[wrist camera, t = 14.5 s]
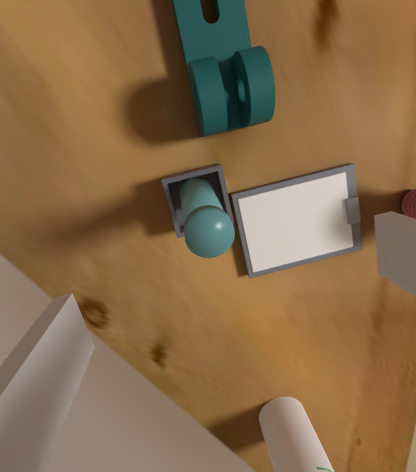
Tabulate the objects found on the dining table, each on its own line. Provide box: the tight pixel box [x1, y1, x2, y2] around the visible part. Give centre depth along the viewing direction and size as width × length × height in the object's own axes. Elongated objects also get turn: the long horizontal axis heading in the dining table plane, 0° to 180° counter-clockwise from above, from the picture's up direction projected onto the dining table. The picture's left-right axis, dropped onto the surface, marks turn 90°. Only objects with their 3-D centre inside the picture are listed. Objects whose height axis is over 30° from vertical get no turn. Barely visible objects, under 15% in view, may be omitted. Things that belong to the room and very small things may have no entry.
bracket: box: [172, 0, 275, 137], centre depth 29 cm, size 18×7×8 cm, turn 12°
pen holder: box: [161, 163, 234, 238], centre depth 35 cm, size 7×7×4 cm
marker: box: [180, 176, 235, 258], centre depth 30 cm, size 4×4×14 cm
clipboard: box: [230, 163, 362, 278], centre depth 38 cm, size 11×15×2 cm
